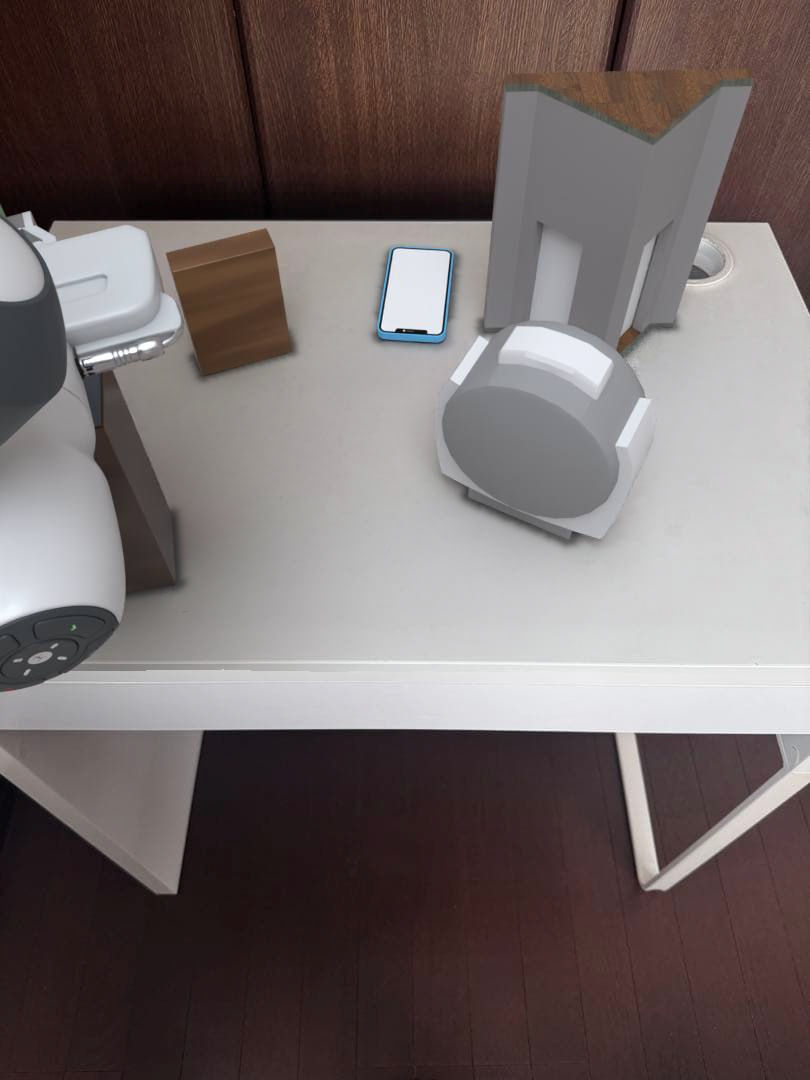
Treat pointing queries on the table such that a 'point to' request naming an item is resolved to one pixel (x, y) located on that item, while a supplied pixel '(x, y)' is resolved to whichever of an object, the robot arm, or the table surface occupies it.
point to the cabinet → (606, 194)
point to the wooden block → (232, 300)
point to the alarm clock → (545, 427)
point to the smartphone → (416, 294)
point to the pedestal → (134, 494)
